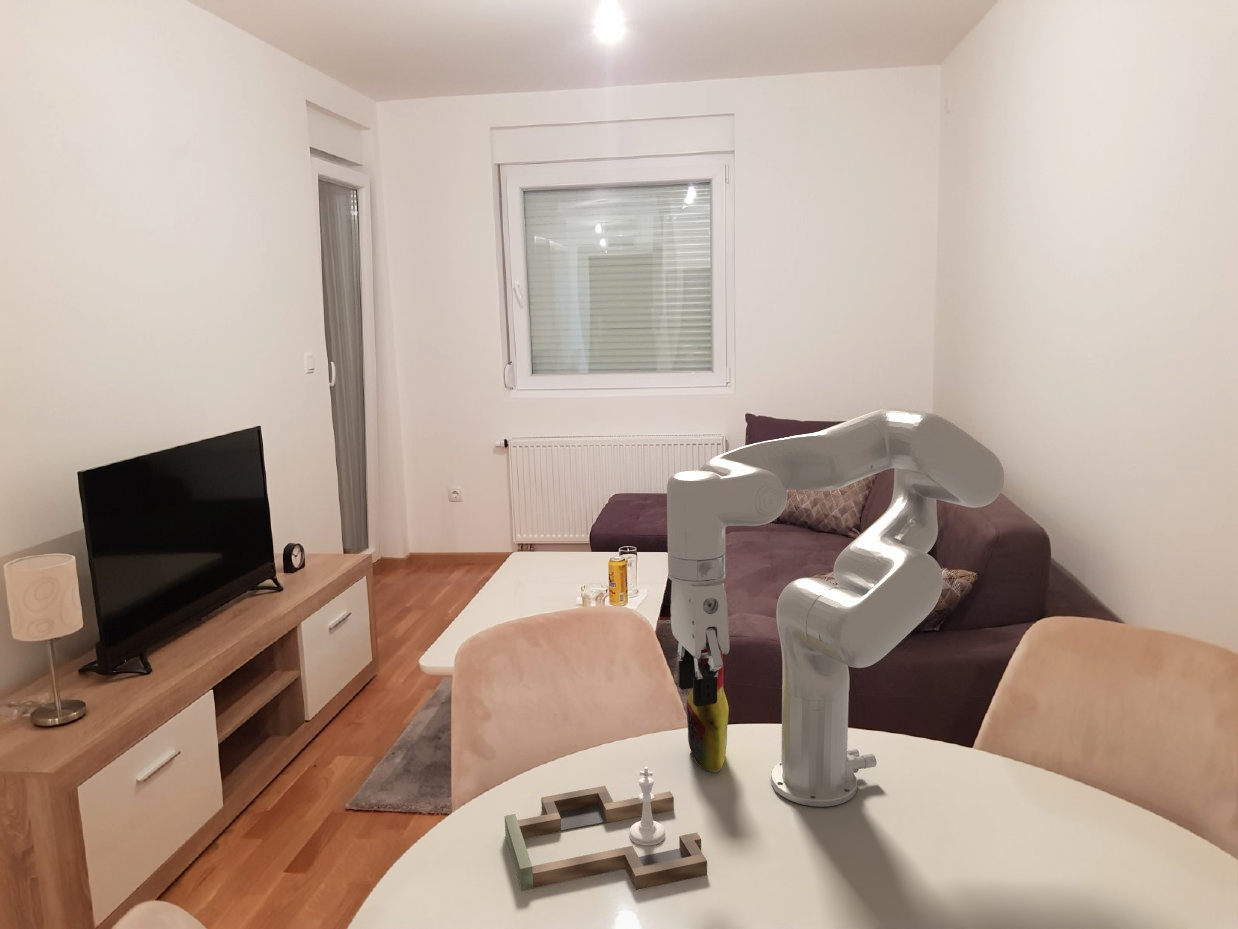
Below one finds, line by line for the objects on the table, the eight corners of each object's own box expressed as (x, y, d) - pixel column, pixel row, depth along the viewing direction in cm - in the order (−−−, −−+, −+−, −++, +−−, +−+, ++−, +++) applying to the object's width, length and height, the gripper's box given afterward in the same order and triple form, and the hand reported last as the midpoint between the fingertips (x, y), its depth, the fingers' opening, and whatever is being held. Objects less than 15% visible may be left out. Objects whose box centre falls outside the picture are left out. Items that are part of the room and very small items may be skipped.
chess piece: (662, 847, 118) (661, 779, 116) (626, 844, 119) (624, 776, 117) (667, 826, 123) (666, 760, 121) (632, 823, 124) (631, 757, 122)
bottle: (733, 778, 134) (733, 654, 131) (691, 780, 134) (690, 655, 131) (723, 740, 146) (723, 625, 142) (684, 741, 146) (683, 626, 142)
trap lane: (660, 788, 132) (659, 769, 132) (714, 873, 112) (714, 852, 112) (500, 817, 126) (499, 798, 125) (528, 914, 106) (527, 891, 105)
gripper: (750, 581, 109) (749, 719, 112) (699, 546, 125) (700, 667, 128) (693, 588, 107) (694, 728, 110) (648, 551, 123) (651, 675, 126)
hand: (697, 694), depth 119 cm, fingers open, 4 cm apart
